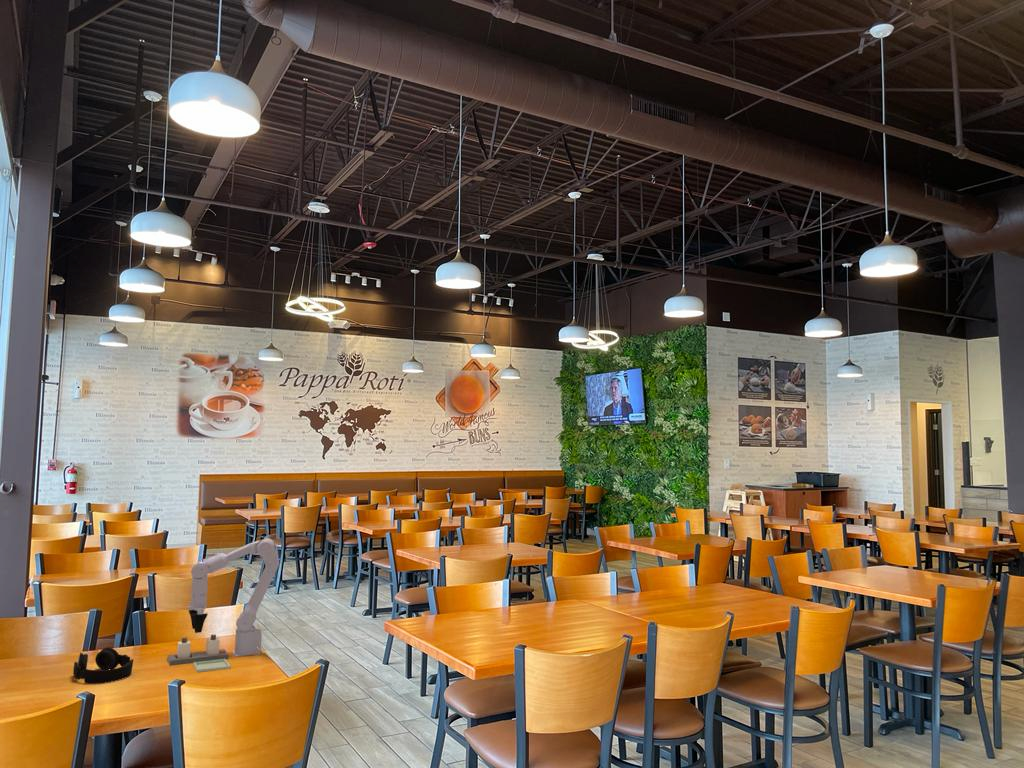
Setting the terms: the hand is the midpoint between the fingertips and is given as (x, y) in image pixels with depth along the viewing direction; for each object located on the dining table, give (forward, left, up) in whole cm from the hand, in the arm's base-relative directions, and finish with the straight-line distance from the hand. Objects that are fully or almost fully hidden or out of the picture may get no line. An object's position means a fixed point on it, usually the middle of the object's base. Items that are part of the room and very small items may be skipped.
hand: (196, 630), depth 284 cm
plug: (+5, +7, -9) cm, 13 cm away
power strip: (0, +7, -9) cm, 12 cm away
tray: (-3, +20, -9) cm, 22 cm away
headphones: (+32, +14, -10) cm, 36 cm away
